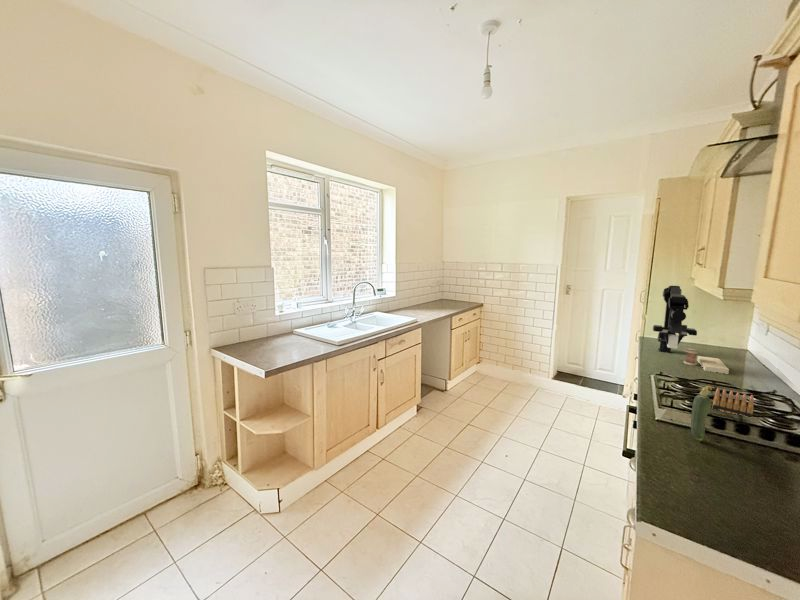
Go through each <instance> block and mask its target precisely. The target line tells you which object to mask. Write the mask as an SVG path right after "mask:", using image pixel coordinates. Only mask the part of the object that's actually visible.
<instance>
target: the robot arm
mask: <svg viewBox="0 0 800 600" xmlns="http://www.w3.org/2000/svg"><path fill="white" fill-rule="evenodd" d="M662 297H663V301H664V302H665V312H664V313H665V314H664V322H663V325H661V324H660V325H659V324H658V325H657V324H654V325H653V326H652V331H653V332H658V334H657V342H659V347H658V348H657V350H658V352H662V353H663V352H664V353H672V354H673V351H672V348H668V347H667V344H668V334H671V335H678V345H679V344H680V343H681V341H682V340H683V338H685V337H688V335H689V336H697V335H698V330H696V329H695V328H690V327H689V328H688V325H686V324H682V322H683V321H684V320H686V319H687V314H686V313H685V311H684V310H686V311H687V310H688V309H689V300H688V298H686V296H685V295H684V294H682V289H681V286H679V285H669V286H668V287H666V288H664V289H663V291H662Z"/></svg>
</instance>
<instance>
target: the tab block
mask: <svg viewBox="0 0 800 600" xmlns="http://www.w3.org/2000/svg"><path fill="white" fill-rule="evenodd" d="M678 335H679V334H676V335H671V334H668V344H667V347H668V348H671V349H678V346H679V344H678Z"/></svg>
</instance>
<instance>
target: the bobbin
mask: <svg viewBox="0 0 800 600" xmlns="http://www.w3.org/2000/svg"><path fill="white" fill-rule="evenodd" d="M684 352H686V355H685V360H683V361H682V363H683V364H684V365H688V366H698V361H697V354H699V353H700V351H699V350H697V349H694V348H684ZM696 361H697V362H696Z"/></svg>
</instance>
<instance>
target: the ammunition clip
mask: <svg viewBox="0 0 800 600" xmlns="http://www.w3.org/2000/svg"><path fill="white" fill-rule="evenodd" d="M720 391H721V390H720V387H717V388H716V390H715V392H714V393H715V394H714V396H713V402H712V405H711V406H712V407H711V410H712V409H716V410H720V411H722V412H727V413H731V414H736V415H737V414H739V415H745V416H748V417H752V418H753V413H754V406H755V405H754V402H755V398H754V395H753V394H751V395H750V396H749V399H748V397H747V394H746V393H743V395H742V397H741V395H740V391H738V392H737V393H736V394H735V396H734V393H733V390H730V392H729V393H728V395H727V390H726V388H724V389H723V390H722V392H720ZM720 394H721V395H720ZM720 396H721V397H720ZM727 396H728V397H727ZM740 399H741V400H740ZM747 400H748V403H747Z"/></svg>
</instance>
